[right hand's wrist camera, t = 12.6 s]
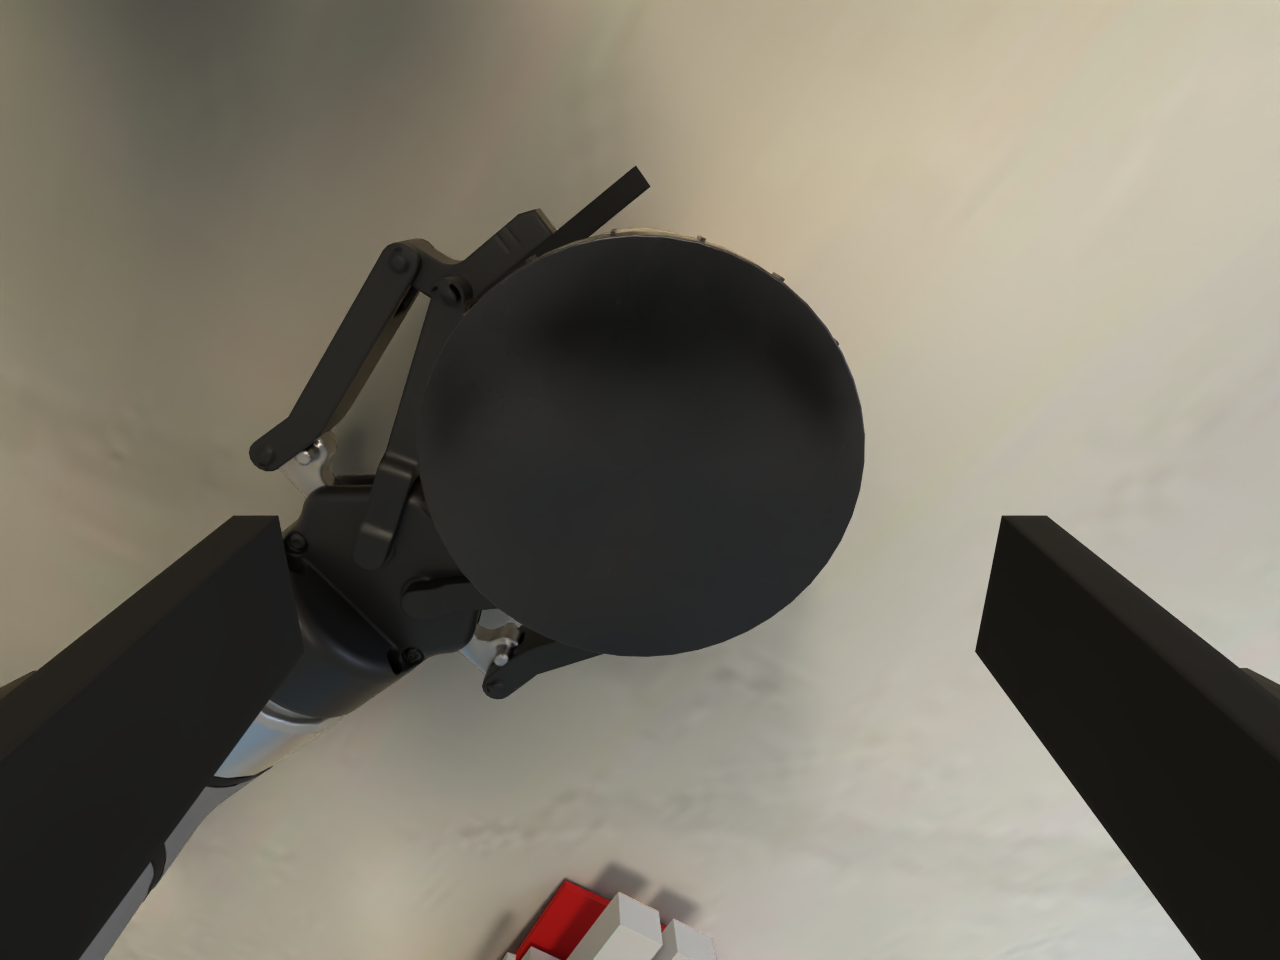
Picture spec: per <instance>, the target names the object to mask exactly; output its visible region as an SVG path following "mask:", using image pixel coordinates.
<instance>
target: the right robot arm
mask: <svg viewBox="0 0 1280 960" xmlns="http://www.w3.org/2000/svg"><path fill="white" fill-rule="evenodd" d="M304 652H305V650H304V645H303V640H302V635H301V630H300V624H299V619H298V614H297V609H296V604H295V599H294V594H293V589H292V584H291V579H290V574H289V569H288V564H287V559H286V553H285V548H284V543H283V538H282V533H281V528H280V523H279V518H278V516H232V517H231V518H230V519H229V520H227V521H226V522H225V523H224V524H222V525H221V526H220V527H218V528H217V529H216V530H215V531H213V532H212V533H211V534H210V535H208V536H207V537H206V538H205V539H203V540H202V541H201V542H200V543H198V544H197V545H196V546H194V547H193V548H192V549H191V550H189V551H188V552H187V553H186V554H184V555H183V556H182V557H181V558H179V559H178V560H177V561H175V562H174V563H173V564H172V565H170V566H169V567H168V568H167V569H165V570H164V571H163V572H162V573H160V574H159V575H158V576H156V577H155V578H154V579H153V580H151V581H150V582H149V583H148V584H146V585H145V586H144V587H143V588H141V589H140V590H139V591H137V592H136V593H135V594H134V595H132V596H131V597H130V598H129V599H127V600H126V601H125V602H124V603H122V604H121V605H120V606H118V607H117V608H116V609H115V610H113V611H112V612H111V613H110V614H108V615H107V616H106V617H105V618H103V619H102V620H101V621H100V622H98V623H97V624H96V625H94V626H93V627H92V628H91V629H89V630H88V631H87V632H86V633H84V634H83V635H82V636H81V637H79V638H78V639H77V640H75V641H74V642H73V643H72V644H70V645H69V646H68V647H67V648H65V649H64V650H63V651H62V652H60V653H59V654H58V655H56V656H55V657H54V658H53V659H51V660H50V661H49V662H48V663H46V664H45V665H44V666H43V667H41V668H40V669H39V670H37V671H32V672H30V673H28V674H26V675H24V676H22V677H21V678H19V679H17V680H15V681H13V682H11V683H9V684H7V685H5V686H3V687H1V688H0V960H79V959H80V958H81V956H82V955H83V953H84V952H85V951H86V949H87V948H88V947H89V945H90V944H91V943H92V941H93V940H94V938H95V937H96V936H97V934H98V933H99V932H100V930H101V929H102V928H103V926H104V925H105V923H106V922H107V921H108V919H109V918H110V917H111V915H112V914H113V913H114V911H115V910H116V908H117V907H118V906H119V904H120V903H121V902H122V900H123V899H124V898H125V896H126V895H127V893H128V892H129V891H130V889H131V888H132V887H133V885H134V884H135V882H136V881H137V880H138V878H139V877H140V876H141V874H142V873H143V872H144V870H145V869H146V867H147V866H148V865H149V863H150V862H151V861H152V859H153V858H154V857H155V855H156V854H157V852H158V851H159V850H160V848H161V847H162V846H163V844H164V843H165V842H166V840H167V839H168V837H169V836H170V835H171V833H172V832H173V831H174V829H175V828H176V827H177V825H178V824H179V822H180V821H181V820H182V818H183V817H184V816H185V814H186V813H187V812H188V810H189V809H190V807H191V806H192V805H193V803H194V802H195V801H196V799H197V798H198V797H199V795H200V794H201V792H202V791H203V790H204V788H205V787H206V786H207V784H208V783H209V782H210V780H211V779H212V777H213V776H214V775H215V773H216V772H217V771H218V769H219V768H220V767H221V765H222V764H223V762H224V761H225V760H226V758H227V757H228V756H229V754H230V753H231V752H232V750H233V749H234V747H235V746H236V745H237V743H238V742H239V741H240V739H241V738H242V737H243V735H244V734H245V732H246V731H247V730H248V728H249V727H250V726H251V724H252V723H253V722H254V720H255V719H256V717H257V716H258V715H259V713H260V712H261V711H262V709H263V708H264V707H265V705H266V704H267V702H268V701H269V700H270V698H271V697H272V696H273V694H274V693H275V692H276V690H277V689H278V687H279V686H280V685H281V683H282V682H283V681H284V679H285V678H286V677H287V675H288V674H289V672H290V671H291V670H292V668H293V667H294V666H295V664H296V663H297V662H298V660H299V659H300V657H301V656H302V655H303V653H304ZM975 652H976V653H977V655H978V656H979V657H980V659H981V660H982V662H983V663H984V664H985V666H986V667H987V668H988V670H989V671H990V672H991V674H992V675H993V677H994V678H995V679H996V681H997V682H998V683H999V685H1000V686H1001V687H1002V689H1003V690H1004V692H1005V693H1006V694H1007V696H1008V697H1009V698H1010V700H1011V701H1012V702H1013V704H1014V705H1015V707H1016V708H1017V709H1018V711H1019V712H1020V713H1021V715H1022V716H1023V717H1024V719H1025V720H1026V722H1027V723H1028V724H1029V726H1030V727H1031V728H1032V730H1033V731H1034V732H1035V734H1036V735H1037V737H1038V738H1039V739H1040V741H1041V742H1042V743H1043V745H1044V746H1045V747H1046V749H1047V750H1048V752H1049V753H1050V754H1051V756H1052V757H1053V758H1054V760H1055V761H1056V762H1057V764H1058V765H1059V767H1060V768H1061V769H1062V771H1063V772H1064V773H1065V775H1066V776H1067V777H1068V779H1069V780H1070V782H1071V783H1072V784H1073V786H1074V787H1075V788H1076V790H1077V791H1078V792H1079V794H1080V795H1081V797H1082V798H1083V799H1084V801H1085V802H1086V803H1087V805H1088V806H1089V807H1090V809H1091V810H1092V812H1093V813H1094V814H1095V816H1096V817H1097V818H1098V820H1099V821H1100V822H1101V824H1102V825H1103V827H1104V828H1105V829H1106V831H1107V832H1108V833H1109V835H1110V836H1111V838H1112V839H1113V840H1114V842H1115V843H1116V844H1117V846H1118V847H1119V848H1120V850H1121V851H1122V853H1123V854H1124V855H1125V857H1126V858H1127V859H1128V861H1129V862H1130V863H1131V865H1132V866H1133V868H1134V869H1135V870H1136V872H1137V873H1138V874H1139V876H1140V877H1141V878H1142V880H1143V881H1144V883H1145V884H1146V885H1147V887H1148V888H1149V889H1150V891H1151V892H1152V893H1153V895H1154V896H1155V898H1156V899H1157V900H1158V902H1159V903H1160V904H1161V906H1162V907H1163V908H1164V910H1165V911H1166V913H1167V914H1168V915H1169V917H1170V918H1171V919H1172V921H1173V922H1174V923H1175V925H1176V926H1177V928H1178V929H1179V930H1180V932H1181V933H1182V934H1183V936H1184V937H1185V938H1186V940H1187V941H1188V943H1189V944H1190V945H1191V947H1192V948H1193V949H1194V951H1195V952H1196V953H1197V955H1198V956H1199V958H1200V959H1201V960H1280V685H1279V684H1277V683H1275V682H1273V681H1271V680H1269V679H1268V678H1266V677H1264V676H1262V675H1260V674H1258V673H1256V672H1254V671H1252V670H1250V669H1248V668H1239V667H1237V666H1236V665H1235V664H1234V663H1232V662H1231V661H1230V660H1229V659H1227V658H1226V657H1225V656H1224V655H1222V654H1221V653H1220V652H1218V651H1217V650H1216V649H1215V648H1213V647H1212V646H1211V645H1210V644H1208V643H1207V642H1206V641H1205V640H1203V639H1202V638H1201V637H1199V636H1198V635H1197V634H1196V633H1194V632H1193V631H1192V630H1191V629H1189V628H1188V627H1187V626H1186V625H1184V624H1183V623H1182V622H1180V621H1179V620H1178V619H1177V618H1175V617H1174V616H1173V615H1172V614H1170V613H1169V612H1168V611H1167V610H1165V609H1164V608H1163V607H1162V606H1160V605H1159V604H1158V603H1156V602H1155V601H1154V600H1153V599H1151V598H1150V597H1149V596H1148V595H1146V594H1145V593H1144V592H1143V591H1141V590H1140V589H1139V588H1137V587H1136V586H1135V585H1134V584H1132V583H1131V582H1130V581H1129V580H1127V579H1126V578H1125V577H1124V576H1122V575H1121V574H1120V573H1118V572H1117V571H1116V570H1115V569H1113V568H1112V567H1111V566H1110V565H1108V564H1107V563H1106V562H1105V561H1103V560H1102V559H1101V558H1099V557H1098V556H1097V555H1096V554H1094V553H1093V552H1092V551H1091V550H1089V549H1088V548H1087V547H1086V546H1084V545H1083V544H1082V543H1080V542H1079V541H1078V540H1077V539H1075V538H1074V537H1073V536H1072V535H1070V534H1069V533H1068V532H1067V531H1065V530H1064V529H1063V528H1062V527H1060V526H1059V525H1058V524H1056V523H1055V522H1054V521H1053V520H1051V519H1050V518H1049V517H1048V516H1002V518H1001V523H1000V528H999V533H998V538H997V543H996V548H995V553H994V559H993V564H992V569H991V574H990V579H989V584H988V589H987V594H986V599H985V604H984V609H983V614H982V619H981V624H980V630H979V635H978V640H977V645H976V650H975Z"/></svg>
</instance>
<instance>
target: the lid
mask: <svg viewBox="0 0 1280 960" xmlns="http://www.w3.org/2000/svg"><path fill="white" fill-rule="evenodd" d="M705 240H706V239H705V238H704V237H702V236H700V235H698V236H697V238H694V237H688V236H683V235H677V234H671V233H666V232H644V231H630V232H620V233H617V229H612V231H611V234H603V235H599V236H595V237H590V238H586V239H582V240H578V241H574V242H572V243H569V244H567V245H564V246H562V247H559V248H557V249H554V250H552V251H549V252H547V253H545V254H543V255H542V256H540V257H538V258H537V256H536V255H534V256H532V257H530V258H528V259H527V260H525V261H526V263H527V264H526V265H524V266H522V267H521V268H519V269H517V270H516V271H514V272H513V273H511V274H510V275H509V276H507V277H506V278H505V279H503V280H502V281H501V282H499V283H498V284H497V285H496V286H494V287H493V288H492V289H490V290H489V291H488V292H487V293H486V294H485V295H484V296H483V297H482V298H481V299H480V300H479V301H478V302H477V303H476V304H475V305H474V306H473V307H472V308H471V309H470V310H468V311H467V312H465V313H464V314H462V316H461V317H460V318H461V319H462V320H461V321H460V323H459V324H458V325H457V327H456V328H455V329H454V331H453V332H452V334H451V335H450V336H449V338H448V339H447V341H446V343H445V345H444V347H443V349H442V351H441V353H440V354H439V356H438V358H437V360H436V362H435V364H434V366H433V369H432V372H431V375H430V378H429V380H428V383H427V386H426V388H425V392H424V396H423V401H422V406H421V411H420V416H419V425H418V441H417V452H418V465H419V476H420V480H421V485H422V489H423V494H424V499H425V502H426V505H427V508H428V511H429V513H430V516H431V519H432V522H433V524H434V527H435V529H436V531H437V533H438V535H439V537H440V539H441V540H442V542H443V544H444V546H445V548H446V550H447V552H448V553H449V554H450V556H451V557H452V559H453V560H454V562H455V563H456V564H457V566H458V567H459V569H460V570H461V572H462V573H463V574H464V575H465V576H466V577H467V578H468V580H469V581H470V582H471V583H472V584H473V585H474V586H475V587H476V588H477V590H478V591H479V592H480V593H481V594H483V595H484V596H485V597H486V598H487V599H488V600H489V601H491V602H492V603H493V604H494V605H495V606H496V607H498V608H499V609H500V610H501V611H503V612H504V613H506V614H507V615H509V616H510V617H512V618H513V619H515V620H516V621H518V622H519V623H521V624H522V625H524V626H526V627H528V628H530V629H532V630H534V631H536V632H538V633H539V634H541V635H543V636H545V637H548V638H551V639H553V640H556V641H558V642H561V643H564V644H566V645H569V646H573V647H576V648H580V649H584V650H588V651H592V652H597V653H604V654H611V655H618V656H641V657H649V656H662V655H673V654H679V653H684V652H689V651H694V650H699V649H702V648H706V647H709V646H712V645H715V644H718V643H722V642H724V641H727V640H729V639H731V638H734V637H736V636H738V635H740V634H743V633H745V632H747V631H749V630H751V629H752V628H754V627H756V626H758V625H759V624H761V623H763V622H764V621H766V620H768V619H769V618H771V617H772V616H774V615H775V614H776V613H778V612H779V611H780V610H782V609H783V608H784V607H786V606H787V605H788V604H789V603H791V602H792V601H793V600H794V599H795V598H796V597H797V596H798V595H799V594H800V593H801V592H802V591H803V590H804V589H805V588H806V587H807V586H809V585H810V584H811V582H812V581H813V580H814V579H815V577H816V576H817V575H818V574H819V572H820V571H821V570H822V569H823V567H824V566H825V565H826V564H827V562H828V561H829V559H830V558H831V556H832V554H833V553H834V551H835V549H836V548H837V546H838V545H839V543H840V541H841V539H842V537H843V535H844V533H845V531H846V528H847V526H848V524H849V522H850V520H851V517H852V515H853V511H854V508H855V505H856V501H857V498H858V495H859V491H860V487H861V480H862V474H863V467H864V449H865V433H864V425H863V417H862V409H861V404H860V400H859V397H858V393H857V389H856V386H855V382H854V379H853V376H852V374H851V372H850V369H849V367H848V365H847V362H846V360H845V358H844V355H843V353H842V351H841V350H840V348H839V346H838V345H839V343H838V341H837V340H835V339H834V338H833V337H832V335H831V333H830V332H829V330H828V329H827V327H826V326H825V325H824V323H823V322H822V321H821V320H820V319H819V317H818V316H817V315H816V314H815V313H814V311H813V310H812V309H811V308H810V307H809V305H808V304H807V303H806V302H805V301H804V300H803V299H801V298H800V297H799V296H798V295H797V294H796V293H795V292H794V291H793V290H791V289H790V288H789V287H788V286H787V285H786V284H785V283H784V282H783V281H784V280H785V279H784V278H782V277H781V276H779V275H778V274H776V273H774V272H773V273H772V274H770V273H769V272H767V271H766V270H764V269H763V268H761V267H760V266H758V265H757V264H755V263H753V262H752V261H750V260H748V259H746V258H744V257H742V256H740V255H738V254H736V253H734V252H732V251H730V250H728V249H726V248H724V247H722V246H718V245H715V244H712V243H709V242H706V241H705Z"/></svg>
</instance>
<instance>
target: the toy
mask: <svg viewBox="0 0 1280 960" xmlns="http://www.w3.org/2000/svg"><path fill="white" fill-rule="evenodd" d="M503 960H717V959H716V954H715V949H714V944H713V939H712V937H710V936H708V935H706V934H704V933H702V932H700V931H698V930H696V929H694V928H692V927H690V926H688V925H686V924H684V923H682V922H680V921H678V920H676V919H674V918H673V919H672V920H671V922H670V923H669V924H668V926H664V925H662V924H660V916H659V911H657V910H655V909H653V908H651V907H649V906H647V905H645V904H643V903H641V902H639V901H637V900H635V899H633V898H631V897H629V896H627V895H625V894H623V893H621V892H619V891H618V893H617V894H616V895H615V897H614V898H613V899H612V900H611V901H610V900H608V899H605V898H603V897H601V896H599V895H597V894H594V893H592V892H590V891H588V890H586V889H583V888H581V887H579V886H577V885H575V884H573V883H570V882H568V881H566V880H565V881H564V882H563V884H562V885H561V887H560V888H559V890H558V891H557V892H556V894H555V895H554V897H553V898H552V900H551V901H550V903H549V904H548V906H547V907H546V909H545V910H544V912H543V913H542V914H541V916H540V917H539V919H538V920H537V922H536V923H535V925H534V926H533V928H532V929H531V931H530V932H529V933H528V935H527V936H526V938H525V939H524V941H523V942H522V944H521V945H520V947H519V948H518V950H517V951H516V952H515V954H512V953H509V952H507V953H506V955H505V957H504V959H503Z"/></svg>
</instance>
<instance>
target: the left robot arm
mask: <svg viewBox="0 0 1280 960" xmlns="http://www.w3.org/2000/svg"><path fill="white" fill-rule="evenodd" d="M649 187H650V185H649V184H648V182H647V181H646V179H645V178H644V177H643V175H642V174H641V172H640V171H639V169H638V168H637V167H636V166H635V167H633V168H632V169H631V170H630V171H629V172H627V173H626V174H625V175H624V176H623V177H621V178H620V179H619V180H618V181H616V182H615V183H614V184H613V185H612V186H610V187H609V188H608V189H607V190H606V191H604V192H603V193H602V194H601V195H600V196H598V197H597V198H596V199H595V200H594V201H592V202H591V203H590V204H589V205H587V206H586V207H585V208H584V209H583V210H581V211H580V212H579V213H578V214H577V215H575V216H574V217H573V218H572V219H571V220H569V221H568V222H567V223H566V224H565V225H563V226H562V227H561V228H560V229H558V230H556V229H555V228H554V226H553V225H552V224H551V222H550V221H549V220H548V218H547V217H546V216H545V215H544V213H543V212H542V211H541V209H535V210H531V211H528V212H524V213H521V214H518V215H517V216H516V217H515V218H514V219H512V220H511V221H510V222H509V223H508V224H507V225H506V226H504V227H503V228H502V229H501V230H499V231H498V232H497V233H496V234H495V235H494V236H492V237H491V238H490V239H489V240H488V241H486V242H485V243H484V244H483V245H482V246H481V247H479V248H478V249H477V250H476V251H475V252H473V253H472V254H471V255H470V256H469V257H468V258H466V259H465V260H464V261H457V260H453V259H451V258H448V257H447V256H445V255H444V254H442V253H440V252H439V251H437V250H436V249H434V247H433V246H432V245H431V244H430V243H429V242H428V241H426V240H424V239H411V240H406V241H401V242H396V243H393V244H390V245H388V246H387V247H386V248H385V249H384V250H383V251H382V253H381V255H380V257H379V258H378V260H377V262H376V264H375V266H374V267H373V269H372V271H371V273H370V274H369V276H368V278H367V280H366V281H365V283H364V285H363V287H362V288H361V290H360V292H359V294H358V295H357V297H356V299H355V301H354V302H353V304H352V306H351V308H350V310H349V311H348V313H347V315H346V317H345V318H344V320H343V322H342V324H341V325H340V327H339V329H338V331H337V332H336V334H335V336H334V338H333V339H332V341H331V343H330V345H329V346H328V348H327V350H326V352H325V353H324V355H323V357H322V359H321V361H320V362H319V364H318V366H317V368H316V369H315V371H314V373H313V375H312V376H311V378H310V380H309V382H308V383H307V385H306V387H305V389H304V390H303V392H302V394H301V396H300V397H299V399H298V401H297V403H296V405H295V406H294V408H293V410H292V412H291V413H290V415H289V417H288V418H286V419H285V420H284V421H282V422H281V423H280V424H278V425H277V426H276V427H274V428H273V429H272V430H270V431H269V432H267V433H266V434H265V435H263V436H262V437H261V438H259V439H258V440H257V441H255V442H254V443H253V444H252V446H251V447H250V451H249V455H250V459H251V461H252V462H253V464H254V465H255V466H257V467H258V468H259V469H261V470H264V471H274V470H276V469H278V468H279V469H280V470H281V471H282V472H283V473H284V474H285V476H286V477H287V478H288V479H289V480H290V481H291V482H292V483H293V484H294V485H295V486H296V488H297V489H298V490H299V491H300V492H301V493H302V494H303V495H304V496H305V497H306V500H305V502H304V505H303V509H302V512H301V515H300V517H299V519H298V520H297V521H295V522H294V523H293V524H292V525H290V526H289V527H288V528H287V529H285V530H284V531H283V532H282V538H283V543H284V548H285V553H286V559H287V564H288V569H289V574H290V579H291V584H292V589H293V594H294V599H295V604H296V609H297V614H298V619H299V624H300V630H301V635H302V640H303V645H304V650H305V652H304V653H303V655H302V656H301V657H300V659H299V660H298V662H297V663H296V664H295V666H294V667H293V668H292V670H291V671H290V672H289V674H288V675H287V677H286V678H285V679H284V681H283V682H282V683H281V685H280V686H279V687H278V689H277V690H276V692H275V693H274V694H273V696H272V697H271V698H270V700H269V701H268V702H267V704H266V705H265V707H264V708H263V709H262V711H261V712H260V713H259V715H258V716H257V717H256V719H255V720H254V722H253V723H252V724H251V726H250V727H249V728H248V730H247V731H246V732H245V734H244V735H243V737H242V738H241V739H240V741H239V742H238V743H237V745H236V746H235V747H234V749H233V750H232V752H231V753H230V754H229V756H228V757H227V758H226V760H225V761H224V762H223V764H222V765H221V767H220V768H219V769H218V771H217V772H216V773H215V775H214V776H213V777H212V779H211V780H210V782H209V783H208V784H207V786H206V787H205V788H204V790H203V791H202V792H201V794H200V795H199V797H198V798H197V799H196V801H195V802H194V803H193V805H192V806H191V807H190V809H189V810H188V812H187V813H186V814H185V816H184V817H183V818H182V820H181V821H180V822H179V824H178V825H177V827H176V828H175V829H174V831H173V832H172V833H171V835H170V836H169V837H168V839H167V840H166V842H165V843H164V844H163V846H162V847H161V848H160V850H159V851H158V852H157V854H156V855H155V857H154V858H153V859H152V861H151V862H150V863H149V865H148V866H147V867H146V869H145V870H144V872H143V873H142V874H141V876H140V877H139V878H138V880H137V881H136V882H135V884H134V885H133V887H132V888H131V889H130V891H129V892H128V893H127V895H126V896H125V898H124V899H123V900H122V902H121V903H120V904H119V906H118V907H117V908H116V910H115V911H114V913H113V914H112V915H111V917H110V918H109V919H108V921H107V922H106V923H105V925H104V926H103V928H102V929H101V930H100V932H99V933H98V934H97V936H96V937H95V938H94V940H93V941H92V943H91V944H90V945H89V947H88V948H87V949H86V951H85V952H84V953H83V955H82V956H81V958H80V959H79V960H103V959H104V958H105V956H106V955H107V953H108V952H109V951H110V949H111V948H112V946H113V945H114V943H115V942H116V940H117V939H118V937H119V936H120V934H121V933H122V931H123V930H124V928H125V927H126V925H127V924H128V922H129V921H130V919H131V918H132V917H133V915H134V914H135V912H136V911H137V909H138V908H139V906H140V905H141V903H142V902H143V901H144V900H145V899H146V897H147V895H148V894H149V893H150V891H151V890H152V889H153V888H154V887H155V886H156V885H157V884H158V882H159V881H160V880H161V878H162V877H163V875H164V874H165V873H166V871H167V870H168V868H169V867H170V865H171V864H172V863H173V861H174V860H175V858H176V857H177V855H178V854H179V853H180V851H181V850H182V848H183V847H184V845H185V844H186V843H187V841H188V840H189V838H190V837H191V835H192V834H193V833H194V831H195V830H196V828H197V827H198V826H199V824H200V823H201V822H202V821H203V820H204V818H205V817H206V816H207V815H208V814H209V813H210V812H211V811H212V810H213V809H214V808H215V807H216V806H218V805H219V804H220V803H222V802H223V801H224V800H226V799H227V798H228V797H230V796H231V795H233V794H234V793H235V792H237V791H238V790H240V789H241V788H242V787H244V786H245V785H247V784H248V783H249V782H251V781H252V780H254V779H255V778H256V777H258V776H259V775H261V774H262V773H264V772H265V771H267V770H268V769H270V768H271V767H272V766H274V765H275V764H276V763H278V762H279V761H281V760H282V759H284V758H285V757H287V756H288V755H290V754H291V753H293V752H294V751H296V750H297V749H299V748H300V747H302V746H303V745H305V744H306V743H308V742H309V741H310V740H312V739H313V738H315V737H316V736H318V735H319V734H321V733H322V732H324V731H325V730H327V729H328V728H330V727H331V726H332V725H334V724H335V723H337V722H338V721H339V720H341V718H342V717H343V716H344V715H346V714H348V713H350V712H352V711H354V710H355V709H357V708H358V707H360V706H361V705H362V704H364V703H365V702H367V701H368V700H370V699H371V698H373V697H374V696H375V695H377V694H378V693H380V692H381V691H383V690H384V689H385V688H387V687H388V686H390V685H391V684H393V683H394V682H396V681H397V680H398V679H400V678H401V677H403V676H404V675H406V674H407V673H408V672H410V671H411V670H413V669H414V668H415V667H416V666H418V665H419V664H420V663H421V662H423V661H424V660H425V659H427V658H429V657H431V656H434V655H437V654H442V653H451V652H455V651H459V652H460V653H462V654H463V655H464V656H465V657H466V658H467V659H468V660H469V661H470V662H472V663H473V664H474V665H475V666H476V667H477V668H478V669H479V670H480V671H481V672H483V673H484V674H485V678H484V681H483V685H482V687H483V691H484V692H485V694H486V695H487V696H489V697H491V698H494V699H503V698H505V697H507V696H509V695H510V694H511V693H513V692H514V691H515V690H517V689H518V688H520V687H521V686H522V685H524V684H525V683H526V682H528V681H529V680H530V679H532V678H533V677H534V676H536V675H537V674H540V673H543V672H547V671H550V670H553V669H556V668H559V667H563V666H566V665H569V664H572V663H575V662H579V661H582V660H585V659H588V658H591V657H595V656H598V655H601V654H604V653H597V652H592V651H588V650H584V649H580V648H576V647H573V646H569V645H566V644H564V643H561V642H558V641H556V640H553V639H551V638H548V637H545V636H543V635H541V634H539V633H538V632H536V631H534V630H532V629H530V628H528V627H526V626H524V625H522V626H520V627H519V628H518V627H517V626H516V624H514V623H507V624H505V626H502V627H499V628H497V629H486V628H483V627H482V626H480V625H479V624H478V623H479V620H480V616H481V612H482V610H485V609H495V608H498V607H496V606H495V605H494V604H493V603H492V602H491V601H489V600H488V599H487V598H486V597H485V596H484V595H483V594H481V593H480V592H479V591H478V590H477V588H476V587H475V586H474V585H473V584H472V583H471V582H470V581H469V580H468V578H467V577H466V576H465V575H464V574H463V573H462V572H461V570H460V569H459V567H458V566H457V564H456V563H455V562H454V560H453V559H452V557H451V556H450V554H449V553H448V552H447V550H446V548H445V546H444V544H443V542H442V540H441V539H440V537H439V535H438V533H437V531H436V529H435V527H434V524H433V522H432V519H431V516H430V513H429V511H428V508H427V505H426V502H425V499H424V494H423V489H422V485H421V480H420V476H419V465H418V452H417V441H418V425H419V416H420V411H421V406H422V401H423V396H424V392H425V388H426V386H427V383H428V380H429V378H430V375H431V372H432V369H433V366H434V364H435V362H436V360H437V358H438V356H439V354H440V353H441V351H442V349H443V347H444V345H445V343H446V341H447V339H448V338H449V336H450V335H451V334H452V332H453V331H454V329H455V328H456V327H457V325H458V324H459V323H460V321H461V320H462V319H461V318H460V317H461V316H462V314H464V313H465V312H467V311H468V310H470V309H471V308H472V307H473V306H474V305H475V304H476V303H477V302H478V301H479V300H480V299H481V298H482V297H483V296H484V295H485V294H486V293H487V292H488V291H489V290H490V289H492V288H493V287H494V286H496V285H497V284H498V283H499V282H501V281H502V280H503V279H505V278H506V277H507V276H509V275H510V274H511V273H513V272H514V271H516V270H517V269H519V268H521V267H522V266H524V265H526V264H527V263H526V261H525V260H527V259H528V258H530V257H532V256H534V255H536V256H537V258H538V257H540V256H542V255H543V254H545V253H547V252H549V251H552V250H554V249H557V248H559V247H562V246H564V245H567V244H569V243H572V242H574V241H578V240H582V239H586V238H588V237H589V236H590V235H592V234H593V233H594V232H595V231H596V230H598V229H599V228H600V227H601V226H603V225H604V224H605V223H606V222H608V221H609V220H610V219H611V218H612V217H614V216H615V215H616V214H617V213H619V212H620V211H621V210H622V209H623V208H625V207H626V206H627V205H628V204H630V203H631V202H632V201H633V200H635V199H636V198H637V197H638V196H639V195H641V194H642V193H643V192H644V191H646V190H647V189H648V188H649ZM419 292H422V293H423V294H425V295H427V296H428V297H430V298H431V300H430V303H429V307H428V310H427V314H426V317H425V320H424V324H423V327H422V330H421V334H420V337H419V341H418V344H417V347H416V351H415V354H414V358H413V361H412V364H411V368H410V371H409V374H408V378H407V381H406V385H405V388H404V391H403V395H402V398H401V402H400V405H399V408H398V412H397V415H396V418H395V422H394V425H393V429H392V432H391V435H390V439H389V442H388V446H387V449H386V452H385V454H384V456H383V458H382V460H381V461H380V464H379V466H378V469H377V472H376V475H340V476H334V474H333V473H332V471H331V468H330V460H331V458H332V456H333V455H334V454H335V452H336V450H337V442H336V436H335V434H334V433H333V432H331V431H330V430H331V429H332V428H333V427H334V426H336V425H337V424H338V423H339V422H340V421H341V419H342V418H343V417H344V416H345V415H346V413H347V412H348V411H349V409H350V408H351V406H352V404H353V403H354V401H355V399H356V398H357V396H358V394H359V393H360V391H361V389H362V388H363V386H364V384H365V383H366V381H367V379H368V378H369V376H370V374H371V373H372V371H373V369H374V368H375V366H376V364H377V363H378V361H379V359H380V358H381V356H382V354H383V353H384V351H385V349H386V348H387V346H388V344H389V343H390V341H391V339H392V338H393V336H394V334H395V333H396V331H397V329H398V327H399V326H400V324H401V322H402V321H403V319H404V317H405V316H406V314H407V312H408V311H409V309H410V307H411V306H412V304H413V302H414V301H415V299H416V297H417V296H418V294H419Z"/></svg>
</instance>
